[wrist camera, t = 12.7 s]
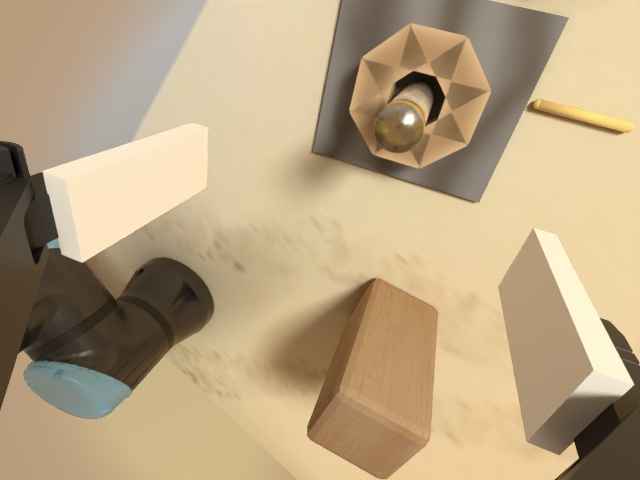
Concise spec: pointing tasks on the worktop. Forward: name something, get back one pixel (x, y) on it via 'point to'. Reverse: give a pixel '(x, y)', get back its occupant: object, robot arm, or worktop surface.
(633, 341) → the worktop surface
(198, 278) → the robot arm
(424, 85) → the brass-banded steel rod
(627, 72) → the worktop surface
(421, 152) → the wooden ring socket base
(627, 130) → the yellow rod
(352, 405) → the wooden block
